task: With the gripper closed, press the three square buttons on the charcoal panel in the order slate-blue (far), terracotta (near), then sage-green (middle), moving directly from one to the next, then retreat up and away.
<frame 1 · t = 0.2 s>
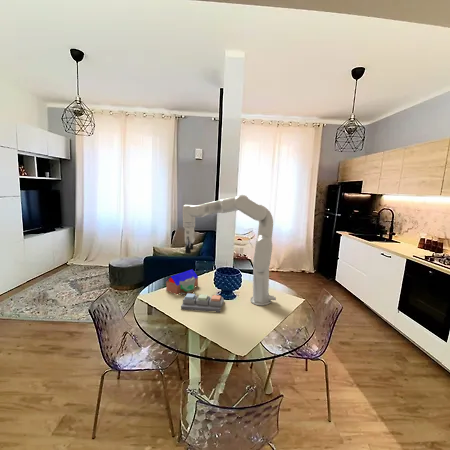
hand: (189, 251, 160), 30 cm above the table, tool pointing down, fingers open, 9 cm apart
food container: (189, 294, 170), on the table
button terracotta: (216, 299, 151), point 5 cm above the table, slide at 0.0 cm
button sage: (203, 298, 152), point 5 cm above the table, slide at 0.0 cm
house: (182, 288, 179), on the table
button slate: (190, 297, 153), point 5 cm above the table, slide at 0.0 cm
button panel: (203, 305, 153), on the table
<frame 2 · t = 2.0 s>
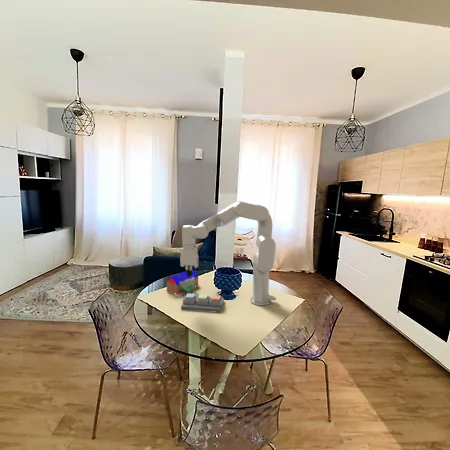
hand: (189, 276, 151), 18 cm above the table, tool pointing down, fingers closed
nothing on the table moved.
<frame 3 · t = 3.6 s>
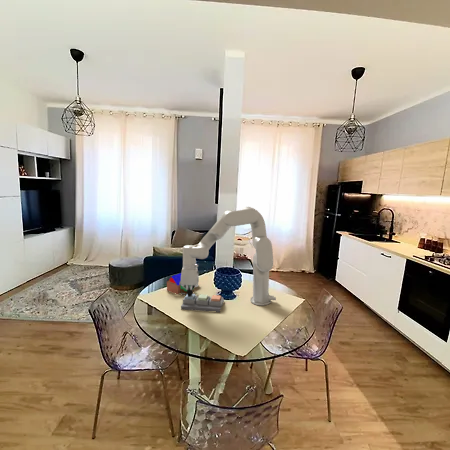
hand: (189, 295, 153), 6 cm above the table, tool pointing down, fingers closed
button slate: (190, 297, 153), point 5 cm above the table, slide at 0.1 cm, touching gripper
everything else where it was.
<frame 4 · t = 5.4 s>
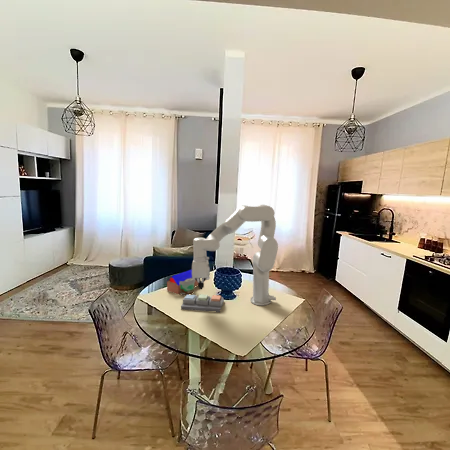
hand: (201, 288, 152), 11 cm above the table, tool pointing down, fingers closed
button slate: (190, 298, 154), point 4 cm above the table, slide at 0.8 cm
everything else where it was.
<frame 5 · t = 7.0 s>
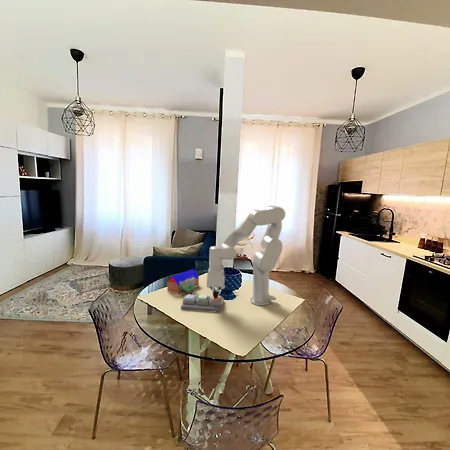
hand: (215, 297, 151), 6 cm above the table, tool pointing down, fingers closed
button terracotta: (216, 299, 151), point 4 cm above the table, slide at 0.1 cm, touching gripper
everything else where it was.
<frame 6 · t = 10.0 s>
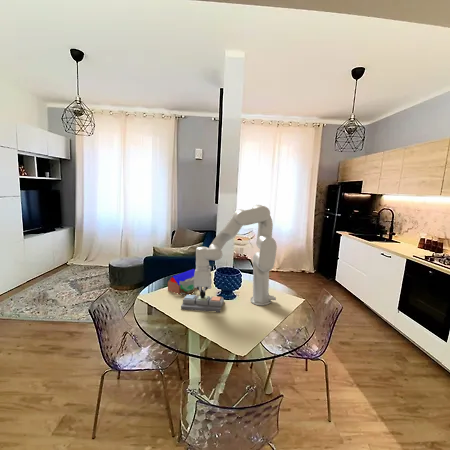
hand: (202, 297, 152), 5 cm above the table, tool pointing down, fingers closed
button terracotta: (216, 300, 151), point 4 cm above the table, slide at 0.8 cm
button sage: (203, 299, 152), point 4 cm above the table, slide at 0.7 cm, touching gripper
everything else where it was.
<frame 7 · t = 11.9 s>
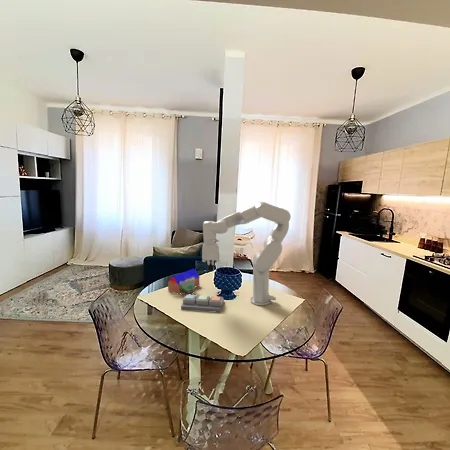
hand: (211, 270, 155), 20 cm above the table, tool pointing down, fingers closed
button sage: (203, 299, 152), point 4 cm above the table, slide at 0.8 cm
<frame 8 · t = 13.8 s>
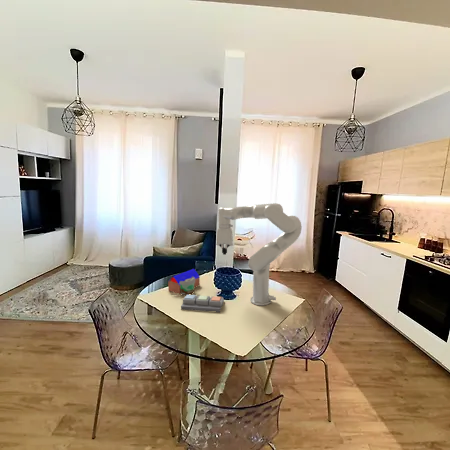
hand: (224, 254, 166), 27 cm above the table, tool pointing down, fingers closed
at the end: button slate slide at 0.8 cm; button terracotta slide at 0.8 cm; button sage slide at 0.8 cm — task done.
